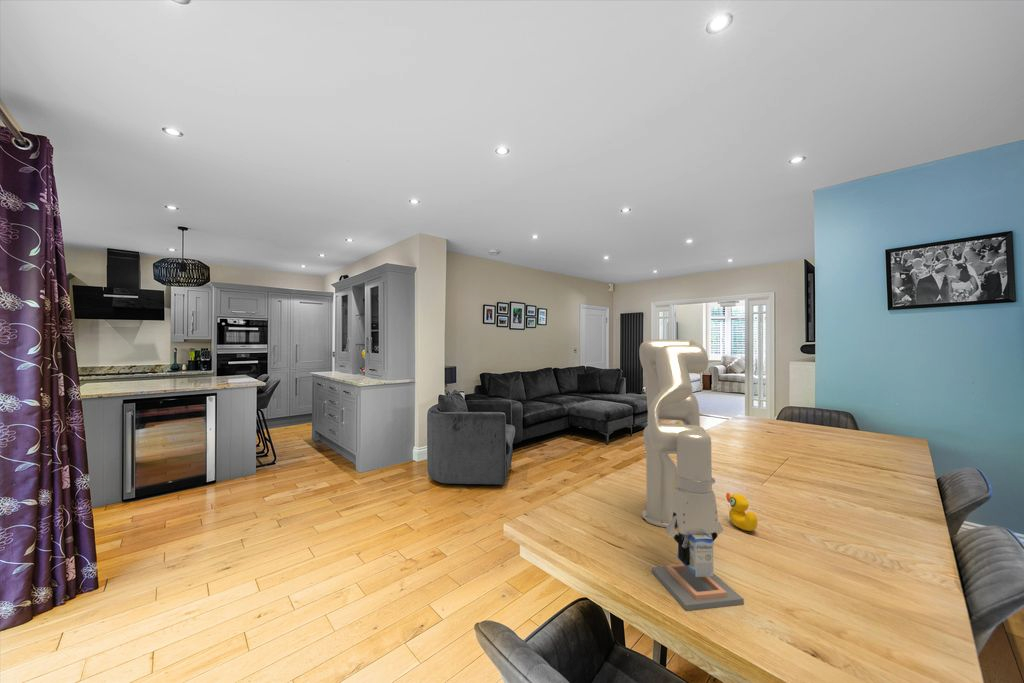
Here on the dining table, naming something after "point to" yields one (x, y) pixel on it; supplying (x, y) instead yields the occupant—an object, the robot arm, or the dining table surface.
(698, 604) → the base plate
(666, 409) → the robot arm
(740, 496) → the duckling
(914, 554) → the dining table surface
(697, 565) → the medicine box
